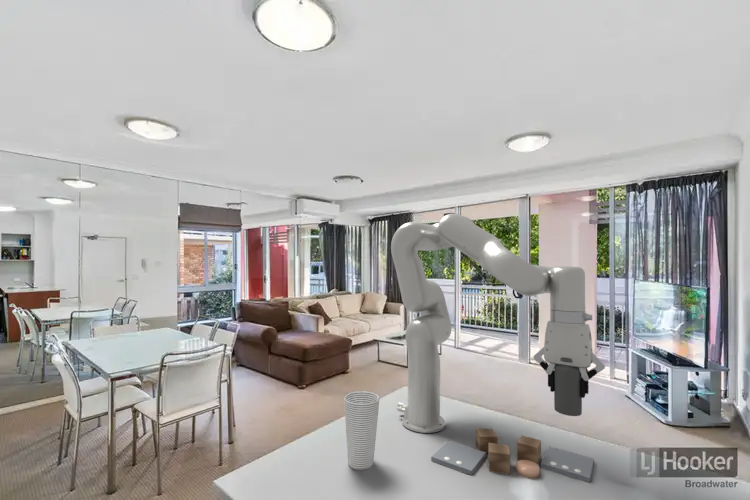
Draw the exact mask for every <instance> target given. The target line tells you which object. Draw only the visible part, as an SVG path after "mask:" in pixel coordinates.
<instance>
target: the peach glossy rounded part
mask: <svg viewBox="0 0 750 500" xmlns="http://www.w3.org/2000/svg"><path fill="white" fill-rule="evenodd" d="M515 471H516V473H517V474H518V475H519V476H521V477H522V478H526V479H530V480H534V479H538V478H539V477H540V472H541V470H540V466H539V464H536V463H535V462H533V461H529V460H519V461H517V460H516V462H515Z"/></svg>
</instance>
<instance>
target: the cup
mask: <svg viewBox="0 0 750 500" xmlns="http://www.w3.org/2000/svg"><path fill="white" fill-rule="evenodd" d="M343 402H344V419H345V421H344V422H345V433H346V435H345V437H346V448H347V450H346V452H347V453H346V454H347V464H348V466H349V467H350V468H351V469H354V470H359V471H362V470H363V471H365V470H367V469H370V468H371V467H372V466H373V465H374V460H375V450H376V448H375V447H376V442H377V441H376V438H377V428H378V419H379V408H380V396H379V394H377V393H376V392H374V391H373V392H372V391H368V390H354V391H350V392H348V393H346V394H345V395H344V396H343Z"/></svg>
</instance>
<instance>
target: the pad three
mask: <svg viewBox="0 0 750 500" xmlns="http://www.w3.org/2000/svg"><path fill="white" fill-rule="evenodd" d="M594 463H595V458H594V457H590V456H586V455H582V454H581V453H580V454H578V453H575V452H572V451H568V450H564V449H561V448H557V447H555V446H550V445H549V446H548V447H547V449H546V451H545V453H544V455H543V457H542V458H541V461H540V468H542V469H545V470H547V471H552V472H554V473H558V474H561V475H565V476H568V477H571V478H574V479H577V480H580V481H584V482H588V483H591V479H592V474H593V469H594Z"/></svg>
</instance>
